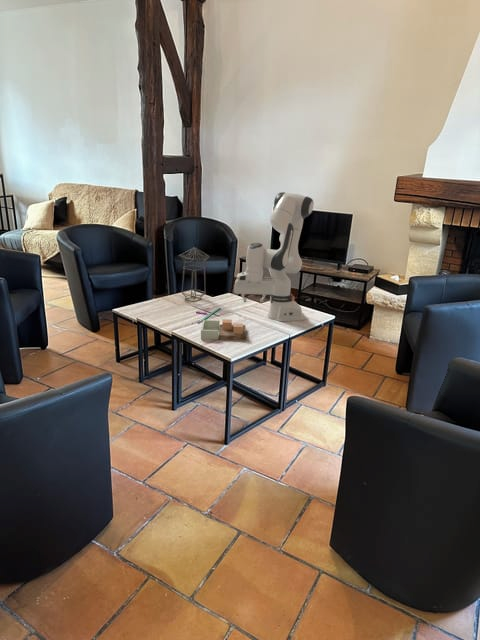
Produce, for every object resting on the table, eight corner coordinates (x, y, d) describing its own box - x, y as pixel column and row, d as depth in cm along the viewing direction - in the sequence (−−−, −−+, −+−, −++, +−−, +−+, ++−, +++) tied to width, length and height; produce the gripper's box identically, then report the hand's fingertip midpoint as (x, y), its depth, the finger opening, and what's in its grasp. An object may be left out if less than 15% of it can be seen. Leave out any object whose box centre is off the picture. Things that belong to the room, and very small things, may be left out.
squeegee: (206, 305, 279) (220, 307, 276) (206, 307, 280) (220, 310, 276) (183, 319, 254) (199, 322, 251) (183, 322, 255) (199, 325, 251)
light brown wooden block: (231, 326, 241) (231, 319, 240) (231, 329, 236) (231, 322, 235) (222, 326, 241) (222, 319, 239) (222, 329, 236) (222, 322, 235)
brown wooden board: (245, 329, 244) (245, 325, 243) (245, 340, 229) (245, 335, 228) (220, 328, 244) (220, 324, 243) (218, 339, 229) (218, 335, 228)
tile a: (242, 330, 235) (243, 323, 234) (242, 334, 231) (243, 326, 229) (233, 330, 235) (233, 323, 234) (233, 333, 231) (233, 326, 229)
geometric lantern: (193, 294, 304) (194, 244, 292) (210, 300, 295) (211, 248, 283) (176, 299, 293) (176, 247, 281) (193, 305, 283) (194, 251, 271)
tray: (219, 328, 244) (219, 320, 242) (218, 339, 229) (218, 330, 227) (203, 328, 244) (203, 319, 242) (200, 339, 229) (200, 330, 227)
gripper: (274, 275, 226) (272, 300, 230) (234, 273, 225) (233, 299, 230) (275, 278, 220) (273, 304, 224) (234, 276, 220) (233, 303, 224)
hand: (253, 302), depth 227 cm, fingers open, 7 cm apart
